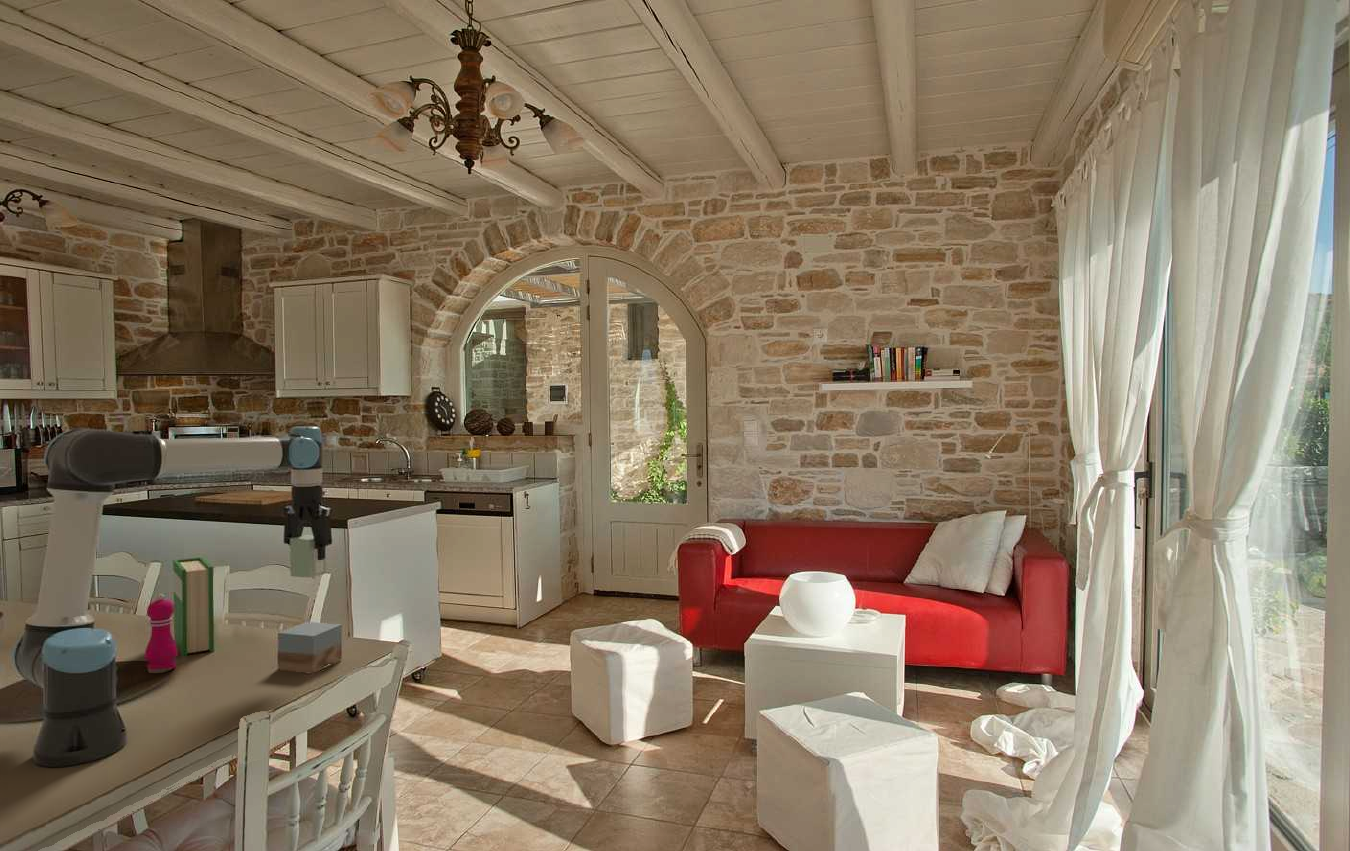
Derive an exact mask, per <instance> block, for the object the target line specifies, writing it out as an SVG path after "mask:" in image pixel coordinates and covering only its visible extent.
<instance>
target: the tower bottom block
mask: <svg viewBox="0 0 1350 851" xmlns="http://www.w3.org/2000/svg"><path fill="white" fill-rule="evenodd" d="M342 654H343V652H342V643H340V644H338V645H336V646H334V647H331V648H329V649H327V650H325V651H322V652H320V653H318V654H316V655H306V654H296V653H286V652H278V651H277V670H278V669H280V670H279V671H285V670H287V671H286V672H293V671H299V672H298V673H301V672H308V673H307V674H310V673H313V672H316V671H318V670H319V669H321V668H323V667H324V666H327V665H328V664H333V663H335V662H337V661H339V660H341V659H342V657H343V656H342ZM342 660H343V659H342ZM335 664H336V663H335ZM333 665H334V664H333ZM309 672H310V673H309ZM318 672H319V671H318ZM316 673H317V672H316ZM313 674H314V673H313Z"/></svg>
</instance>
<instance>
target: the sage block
mask: <svg viewBox="0 0 1350 851" xmlns="http://www.w3.org/2000/svg"><path fill="white" fill-rule="evenodd" d="M320 543H321V542H320ZM314 547H316V544H315V540H314V537H313V534H304V535H302V536H299V537H295V538H290V545H289V549H290V550H289V553H290V556H289V557H290V561H289V562H290V577H296V578H306V579H307V578H313V577H316V576H320V575H323V574H326V572H327V571H326V568H327V567H326V566H327V565H326V558H325V559H323V571H322V572H319V573H314Z"/></svg>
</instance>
